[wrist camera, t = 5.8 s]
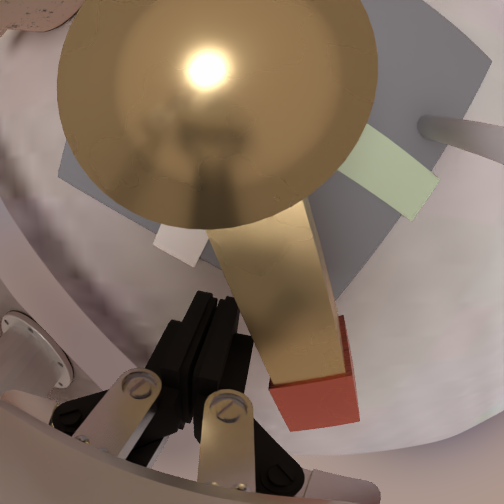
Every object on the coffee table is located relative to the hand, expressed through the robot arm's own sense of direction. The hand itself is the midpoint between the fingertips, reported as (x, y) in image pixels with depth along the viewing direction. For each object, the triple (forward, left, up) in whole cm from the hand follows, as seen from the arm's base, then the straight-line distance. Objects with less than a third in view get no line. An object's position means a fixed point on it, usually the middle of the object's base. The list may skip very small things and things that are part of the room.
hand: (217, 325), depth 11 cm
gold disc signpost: (+5, +1, -1) cm, 5 cm away
